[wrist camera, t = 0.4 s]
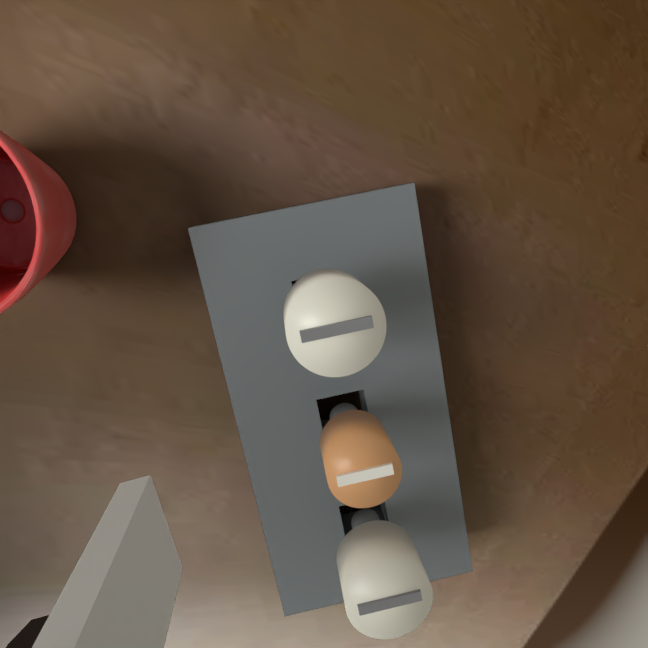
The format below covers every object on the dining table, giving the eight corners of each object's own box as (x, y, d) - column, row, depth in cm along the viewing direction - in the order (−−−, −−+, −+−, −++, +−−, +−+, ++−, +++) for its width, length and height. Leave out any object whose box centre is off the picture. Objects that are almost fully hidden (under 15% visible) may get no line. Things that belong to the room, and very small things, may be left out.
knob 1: (290, 346, 35) (296, 388, 27) (274, 270, 33) (275, 290, 26) (366, 330, 35) (395, 366, 27) (352, 253, 34) (378, 268, 26)
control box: (283, 578, 43) (284, 616, 39) (196, 225, 36) (187, 228, 32) (454, 538, 43) (472, 571, 40) (399, 184, 37) (414, 182, 33)
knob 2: (337, 560, 38) (354, 651, 31) (323, 498, 37) (338, 576, 29) (405, 544, 39) (440, 630, 31) (394, 481, 37) (427, 554, 30)
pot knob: (320, 450, 36) (334, 517, 29) (309, 395, 35) (320, 449, 28) (378, 437, 37) (408, 500, 29) (368, 382, 36) (396, 432, 28)
